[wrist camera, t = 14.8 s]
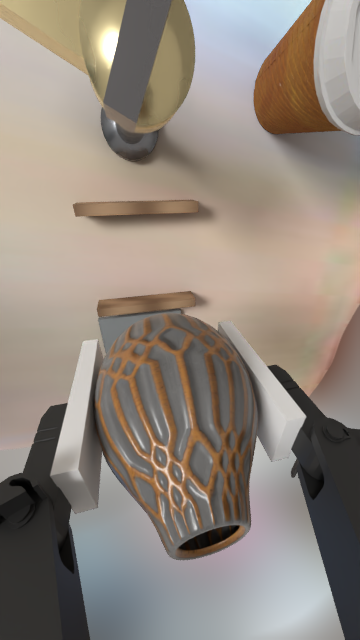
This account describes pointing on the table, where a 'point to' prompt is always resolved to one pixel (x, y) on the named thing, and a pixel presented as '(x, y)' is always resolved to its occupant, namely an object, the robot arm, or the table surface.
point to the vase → (180, 430)
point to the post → (127, 140)
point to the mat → (123, 325)
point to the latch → (118, 51)
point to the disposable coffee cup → (313, 73)
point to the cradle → (132, 208)
